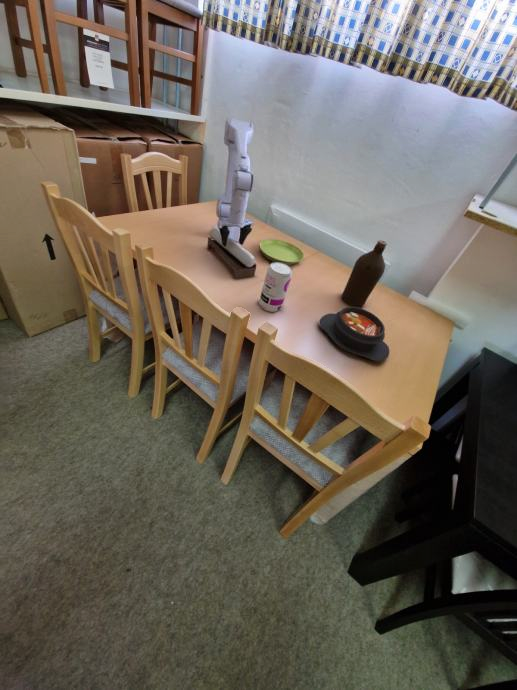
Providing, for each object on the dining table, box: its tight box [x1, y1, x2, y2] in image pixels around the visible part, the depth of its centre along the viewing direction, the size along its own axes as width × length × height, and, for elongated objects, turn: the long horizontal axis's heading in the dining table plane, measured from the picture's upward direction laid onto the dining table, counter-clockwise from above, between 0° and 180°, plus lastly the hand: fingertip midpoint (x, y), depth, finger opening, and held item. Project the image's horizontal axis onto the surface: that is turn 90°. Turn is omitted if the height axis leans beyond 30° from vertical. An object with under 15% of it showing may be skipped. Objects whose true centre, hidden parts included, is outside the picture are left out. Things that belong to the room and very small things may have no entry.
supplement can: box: [258, 262, 293, 313], centre depth 98 cm, size 8×8×15 cm
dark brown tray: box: [206, 236, 258, 280], centre depth 118 cm, size 9×24×5 cm, turn 34°
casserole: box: [318, 306, 390, 362], centre depth 96 cm, size 25×19×8 cm
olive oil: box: [340, 239, 388, 309], centre depth 110 cm, size 11×11×25 cm
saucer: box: [259, 238, 305, 266], centre depth 132 cm, size 21×21×3 cm
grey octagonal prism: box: [209, 226, 256, 267], centre depth 115 cm, size 5×5×25 cm
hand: (232, 244), depth 114 cm, fingers open, 7 cm apart
